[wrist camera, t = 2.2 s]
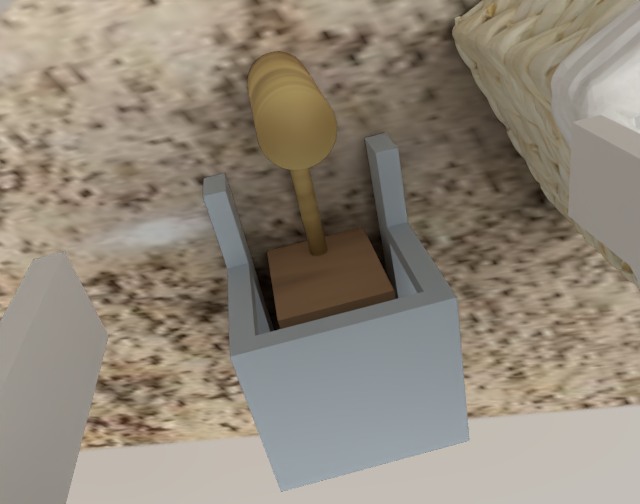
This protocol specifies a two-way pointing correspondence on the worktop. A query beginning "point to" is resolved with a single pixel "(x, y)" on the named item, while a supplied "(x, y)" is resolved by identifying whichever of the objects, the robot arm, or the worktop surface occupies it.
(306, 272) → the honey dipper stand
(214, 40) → the worktop surface
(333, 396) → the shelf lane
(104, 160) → the worktop surface
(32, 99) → the worktop surface
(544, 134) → the storage basket
